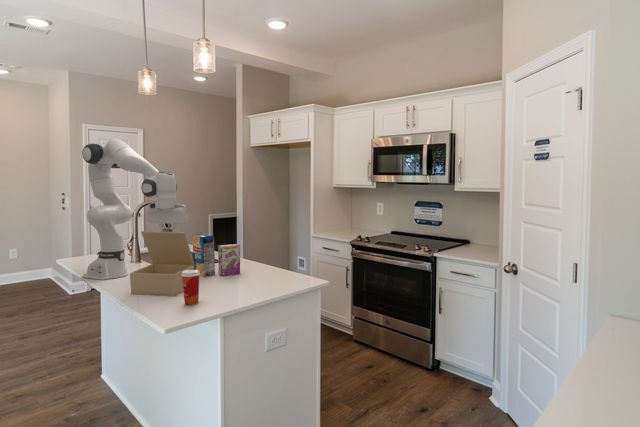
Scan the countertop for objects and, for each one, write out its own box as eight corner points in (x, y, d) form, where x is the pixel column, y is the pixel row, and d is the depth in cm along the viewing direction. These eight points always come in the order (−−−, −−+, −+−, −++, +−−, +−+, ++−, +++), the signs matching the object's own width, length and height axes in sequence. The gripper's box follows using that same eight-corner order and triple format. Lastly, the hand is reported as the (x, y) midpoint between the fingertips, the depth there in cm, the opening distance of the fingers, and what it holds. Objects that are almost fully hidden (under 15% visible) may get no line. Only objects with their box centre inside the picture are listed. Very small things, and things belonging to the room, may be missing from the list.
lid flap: (141, 232, 202) (145, 226, 206) (153, 263, 213) (157, 257, 217) (184, 233, 199) (187, 227, 202) (194, 264, 210) (197, 258, 214)
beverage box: (204, 277, 226) (203, 236, 224) (193, 273, 233) (192, 234, 231) (215, 274, 231) (214, 235, 228) (204, 271, 238) (203, 233, 236)
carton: (130, 294, 194) (129, 273, 193) (153, 282, 214) (153, 263, 213) (175, 296, 191) (174, 274, 190) (194, 284, 211) (193, 265, 210)
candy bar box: (221, 276, 227) (220, 246, 225) (218, 274, 231) (217, 245, 229) (240, 273, 233) (240, 244, 231) (237, 272, 237) (236, 243, 235)
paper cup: (184, 300, 184) (183, 269, 183) (202, 300, 185) (201, 269, 183) (180, 306, 176) (179, 273, 175) (198, 305, 177) (197, 273, 175)
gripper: (190, 204, 206) (191, 232, 207) (151, 203, 209) (152, 231, 210) (184, 205, 200) (185, 233, 201) (144, 204, 203) (145, 233, 204)
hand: (168, 232), depth 206 cm, fingers closed on lid flap, 3 cm apart
